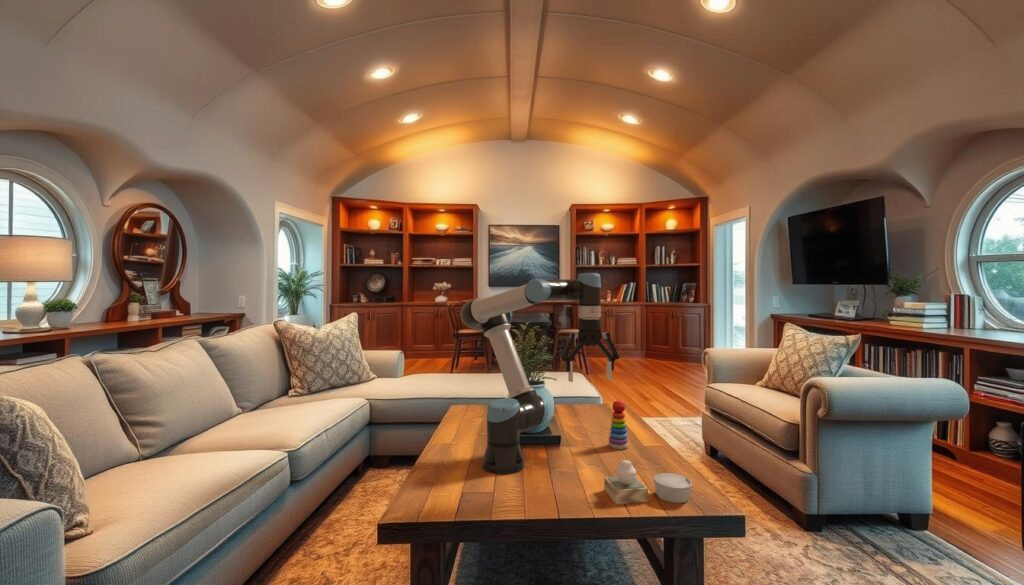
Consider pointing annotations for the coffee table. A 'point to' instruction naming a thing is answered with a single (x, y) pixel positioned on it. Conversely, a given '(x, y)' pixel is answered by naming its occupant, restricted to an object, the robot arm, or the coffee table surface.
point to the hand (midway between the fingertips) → (589, 380)
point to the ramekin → (672, 487)
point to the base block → (625, 491)
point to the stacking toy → (618, 427)
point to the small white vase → (626, 472)
